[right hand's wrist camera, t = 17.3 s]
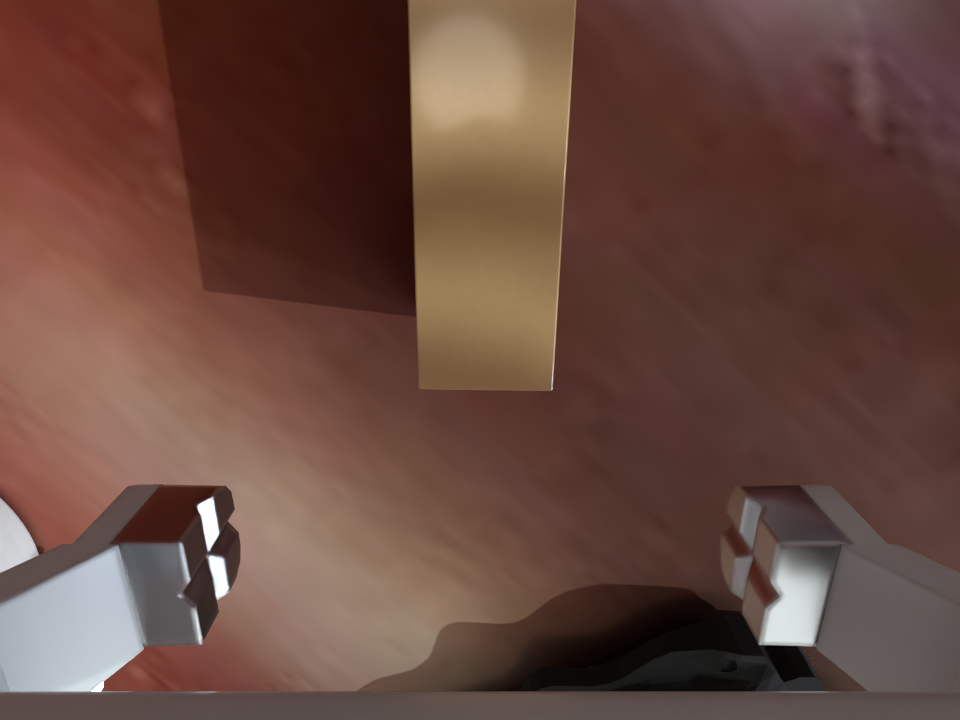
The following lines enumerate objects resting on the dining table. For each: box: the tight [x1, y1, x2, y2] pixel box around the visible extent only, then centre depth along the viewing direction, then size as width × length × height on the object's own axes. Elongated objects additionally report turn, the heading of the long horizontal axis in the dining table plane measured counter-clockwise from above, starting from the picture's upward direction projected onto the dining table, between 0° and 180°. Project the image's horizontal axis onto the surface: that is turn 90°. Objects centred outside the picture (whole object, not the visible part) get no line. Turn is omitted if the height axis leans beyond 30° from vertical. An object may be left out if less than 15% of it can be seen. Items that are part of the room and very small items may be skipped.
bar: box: [407, 0, 576, 391], centre depth 24 cm, size 23×5×8 cm, turn 179°
